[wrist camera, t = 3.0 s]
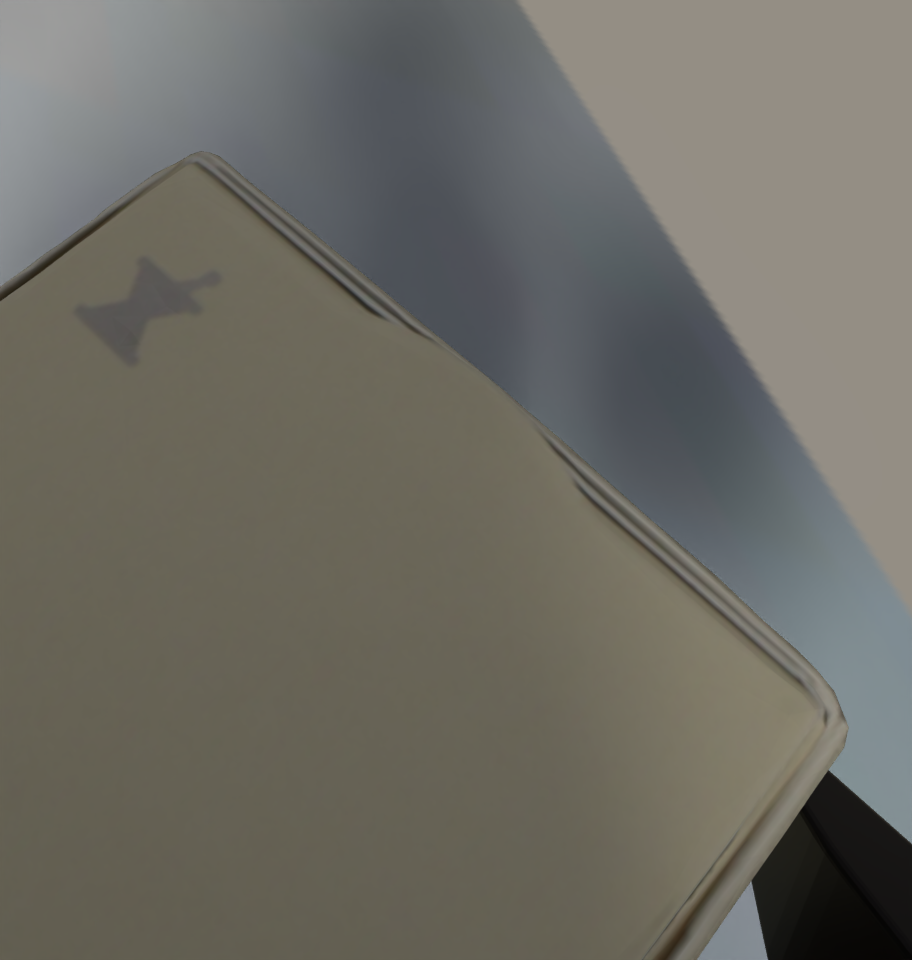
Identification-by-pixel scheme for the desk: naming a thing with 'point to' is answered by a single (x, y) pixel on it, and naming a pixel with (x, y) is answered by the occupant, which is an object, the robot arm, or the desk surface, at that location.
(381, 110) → the desk surface
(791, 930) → the robot arm
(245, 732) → the box
